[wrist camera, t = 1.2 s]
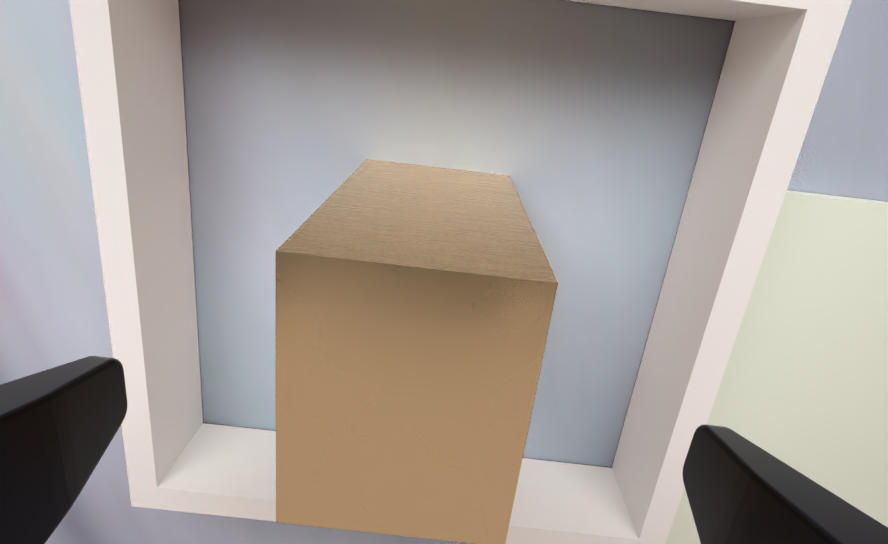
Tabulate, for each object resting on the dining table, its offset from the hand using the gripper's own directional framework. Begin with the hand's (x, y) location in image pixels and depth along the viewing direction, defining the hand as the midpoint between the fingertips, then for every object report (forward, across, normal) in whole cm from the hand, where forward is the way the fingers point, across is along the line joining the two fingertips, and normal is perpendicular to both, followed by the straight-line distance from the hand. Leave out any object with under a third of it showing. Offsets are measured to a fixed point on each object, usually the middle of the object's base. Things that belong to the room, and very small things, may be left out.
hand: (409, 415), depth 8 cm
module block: (+8, 0, 0) cm, 8 cm away
